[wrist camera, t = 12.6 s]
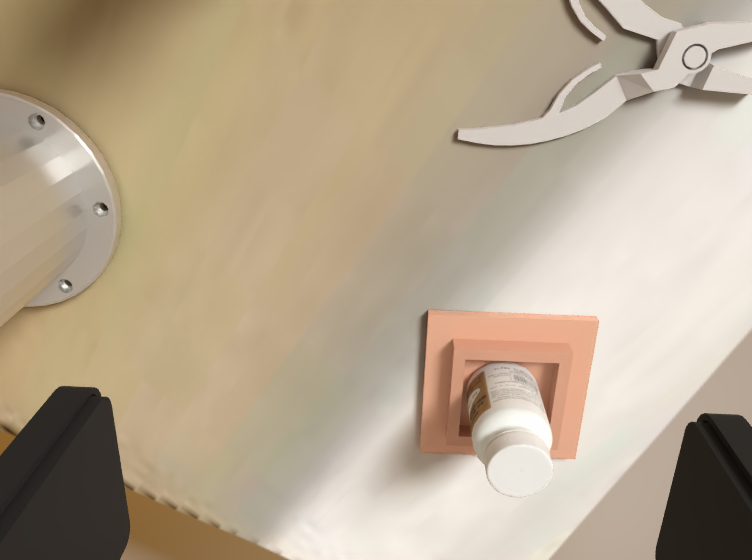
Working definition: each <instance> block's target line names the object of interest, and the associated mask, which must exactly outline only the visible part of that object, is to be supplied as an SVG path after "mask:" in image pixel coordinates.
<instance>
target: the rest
mask: <svg viewBox="0 0 752 560" xmlns="http://www.w3.org/2000/svg"><path fill="white" fill-rule="evenodd" d="M598 325H599V320H598V318H597V317H594V316H568V315H542V314H517V313H491V312H466V311H440V310H428V320H427V337H426V353H425V370H424V386H423V403H422V419H421V435H420V452H426V453H449V454H472V455H476V453H475V451H474V448H473V442H472V437H471V427H470V421H469V413H468V406H467V399H466V389H467V384H468V382H469V380H470V378H471V377H472V375H473V374H474V373H475V372H476V371H477V370H479V369H480V368H482V367H483V366H485V365H488V364H490V363H493V362H500V361H508V362H514V363H517V364H519V365H521V366H523V367H525V368H526V369H527V370H529V371H530V372H531V374H532V375H533V376H534V378H535V380H536V382H537V385H538V389H539V392H540V395H541V399H542V402H543V405H544V408H545V412H546V415H547V418H548V421H549V424H550V427H551V431H552V446H551V449H550V457H551V458H562V459H575V457H576V451H577V445H578V440H579V434H580V428H581V422H582V417H583V411H584V405H585V399H586V394H587V388H588V382H589V376H590V371H591V365H592V359H593V353H594V348H595V342H596V336H597V330H598Z"/></svg>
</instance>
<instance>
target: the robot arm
mask: <svg viewBox="0 0 752 560" xmlns="http://www.w3.org/2000/svg"><path fill="white" fill-rule="evenodd" d="M41 116H42V117H43V118H44V121H45V123H44V122H43V121H42V120H41ZM103 203H104V204H105V205H106V206H107V207H108V209H107V208H105V207H104V206H103ZM121 222H122V217H121V205H120V198H119V194H118V191H117V187H116V183H115V180H114V178H113V176H112V173H111V171H110V169H109V167H108V165H107V163H106V161H105V159H104V158H103V156H102V155H101V153H100V152H99V150H98V149H97V148H96V146H95V145H94V143H93V142H92V141H91V139H90V138H89V137H88V136H87V135H86V134H85V133H84V132H83V131H82V130H81V129H80V128H79V127H78V126H77V125H76V124H75V123H74V122H72V121H71V120H70V119H68V118H67V117H66V116H64V115H63V114H62V113H60V112H59V111H58V110H56V109H55V108H53V107H51V106H49V105H47V104H45V103H43V102H41V101H39V100H37V99H35V98H33V97H30V96H27V95H24V94H21V93H18V92H15V91H11V90H4V89H0V327H1V326H2V325H3V324H5V323H6V322H7V321H8V320H9V319H10V318H11V317H13V316H14V315H15V314H16V313H17V312H18V311H19V310H20V309H22V308H23V307H35V306H46V305H50V304H55V303H59V302H62V301H65V300H67V299H69V298H71V297H73V296H75V295H77V294H79V293H80V292H82V291H83V290H84V289H85V288H87V287H88V286H89V285H91V284H92V283H93V282H94V281H95V280H96V279H97V278H98V277H99V276H100V275H101V274H102V273H103V272H104V270H105V269H106V267H107V265H108V264H109V262H110V261H111V259H112V258H113V256H114V253H115V250H116V247H117V245H118V242H119V239H120V231H121ZM129 533H130V520H129V514H128V507H127V501H126V494H125V488H124V482H123V475H122V469H121V462H120V456H119V449H118V443H117V436H116V430H115V424H114V417H113V411H112V405H111V401H110V399H109V398H108V397H101V393H100V392H99V390H98V389H97V388H95V387H72V386H61V387H58V388H57V389H56V390H55V391H54V392H53V393H52V395H51V396H50V397H49V398H48V399H47V401H46V402H45V403H44V404H43V405H42V407H41V408H40V409H39V410H38V411H37V413H36V414H35V415H34V416H33V417H32V419H31V420H30V421H29V422H28V423H27V425H26V426H25V427H24V428H23V429H22V431H21V432H20V433H19V434H18V435H17V436H16V438H15V439H14V440H13V441H12V443H11V444H10V445H9V446H8V447H7V449H6V450H5V451H4V452H3V453H2V454H1V456H0V560H120V558H121V556H122V554H123V552H124V550H125V548H126V545H127V542H128V539H129ZM656 560H752V427H751V426H750V424H749V423H748V422H747V420H746V419H744V417H743V416H740V415H730V414H708V413H704V414H701V415H700V417H699V418H698V419H697V422H690V423H688V425H687V426H686V429H685V433H684V437H683V442H682V445H681V449H680V453H679V457H678V461H677V465H676V469H675V473H674V477H673V481H672V485H671V489H670V493H669V497H668V501H667V506H666V509H665V513H664V517H663V522H662V526H661V530H660V534H659V538H658V542H657V546H656Z"/></svg>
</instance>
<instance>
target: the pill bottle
mask: <svg viewBox="0 0 752 560" xmlns="http://www.w3.org/2000/svg"><path fill="white" fill-rule="evenodd" d="M466 399H467V406H468V413H469V421H470V427H471V437H472V442H473V448H474V451H475V453H476V455H477V457H478V458H479V459H480V461H481V462H482V463H483V464H484V465H485V469H486V474H487V478H488V481H489V483H490V484H491V485H492V487H493V488H494V489H495V490H497V491H498V492H500V493H502V494H504V495H507V496H511V497H527V496H531V495H533V494H536V493H537V492H539V491H541V490H542V489H543V488H545V487H546V485H547V484H548V483H549V481H550V480H551V477H552V473H553V465H552V460H551V457H550V449H551V446H552V431H551V427H550V424H549V421H548V418H547V415H546V412H545V408H544V405H543V402H542V399H541V395H540V392H539V389H538V385H537V382H536V380H535V378H534V376H533V375H532V374H531V372H530V371H529V370H527V369H526V368H525V367H523V366H521V365H519V364H517V363H514V362H508V361H500V362H493V363H490V364H488V365H485V366H483V367H482V368H480V369H479V370H477V371H476V372H475V373H474V374H473V375H472V377H471V378H470V380H469V382H468V384H467V389H466Z"/></svg>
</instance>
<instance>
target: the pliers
mask: <svg viewBox="0 0 752 560" xmlns="http://www.w3.org/2000/svg"><path fill="white" fill-rule="evenodd" d="M598 1H599V2H600V3H601V4H602V5H603V6H604V7H605V9H606V10H607V11H608V12H609V13H610V14H611V16H612V17H613V18H614V19H615V20H616V21H617V23H618V24H619V25H620V26H621V27H622V28H623V29H626V30H629V31H632V32H635V33H638V34H641V35H644V36H647V37H650V38H653V39H655V42H656V51H657V62H656V64H655V66H654V68H648V69H638V70H634V71H629V72H625V73H620V74H616V75H614V76H612V77H611V78H610V79H608V80H607V81H606V82H605V83H603V84H602V85H601V86H599V87H598V88H597V89H595V90H594V91H593V92H592V93H590V94H589V95H587V96H586V97H585V98H583V99H582V100H580V101H579V102H577V103H576V104H575V105H573V106H570V107H568V108H566V109H563V110H561V107H562V104H563V102H564V99H565V97H566V96H567V94H568V93H569V92H570V91H571V89H572V88H573V87H574V86H575V85H576V84H577V83H578V82H579V81H581V80H582V79H583V78H585V77H586V76H588V75H589V74H591V73H593V72H594V71H596V70H598V69H600V68H601V67H602V66H601V63H600V62H597V63H595V64H593V65H591V66H590V67H588V68H586V69H584V70H583V71H581V72H580V73H578V74H577V75H575V76H574V77H573V78H571V79H570V80H569V81H568V82H567V83H566V85H565V86H564V87H563V88H562V89H561V90H560V91H559V92H558V94H557V96H556V97H555V99H554V101H553V102H552V104H551V106H550V108H549V109H548V110H547V111H546V112H545V113H544V114H543V116H542V117H540V118H536V119H532V120H527V121H523V122H518V123H514V124H508V125H500V126H491V127H481V128H465V129H458V139H460V140H464V141H469V142H474V143H481V144H488V145H524V144H533V143H538V142H543V141H549V140H552V139H556V138H560V137H563V136H567V135H570V134H572V133H575V132H578V131H580V130H583V129H585V128H587V127H589V126H591V125H593V124H595V123H597V122H599V121H601V120H602V119H604V118H606V117H607V116H608V115H609V114H611V113H612V112H613V111H614V110H615V109H617V108H618V107H619V106H620V105H622V104H623V103H624V102H625V101H627V100H630V99H633V98H636V97H639V96H642V95H645V94H648V93H651V92H655V91H660V90H665V89H669V88H674V87H676V86H677V85H678V84H679V83H680V84H683V85H686V86H689V87H693V88H697V89H701V90H710V91H720V92H730V93H741V94H751V95H752V78H749V77H746V76H743V75H740V74H737V73H734V72H730V71H727V70H724V69H721V68H718V67H715V66H713V65H711V64H709V62H710V60H711V54H712V53H713V52H715V51H716V50H718V49H722V48H727V47H731V46H735V45H740V44H744V43H748V42H752V21H732V22H705V23H703V24H698V25H694V26H690V27H685V28H683V26H682V25H681V23H678V22H675V21H672V20H669V19H666V18H662V17H661V16H659V15H658V14H657V13H656V12H654V11H653V10H652V9H651V8H649V7H648V6H647V5H645V4H644V3H643V2H642V0H598ZM569 3H570V6H571V7H572V9H573V11H574V13H575V15H576V16H577V18H578V20H579V21H580V22H581V23H582V24H583V25H584V26H585V27H586V28H587V29H588V30H589V31H590V32H591V33H593V34H594V35H595V36H597V37H598V38H599V39H600V40H602V41H604V40H605V38H606V37H607V36H605V35H604V34H603V33H602V32H600V31H599V30H598V29H597V28H595V26H594V25H593V24H592V23H591V22H590V21H589V20H588V19H587V18H586V17H585V15H584V13H583V10H582V8H581V6H580V4H579V2H578V0H569ZM560 110H561V111H560Z"/></svg>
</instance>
